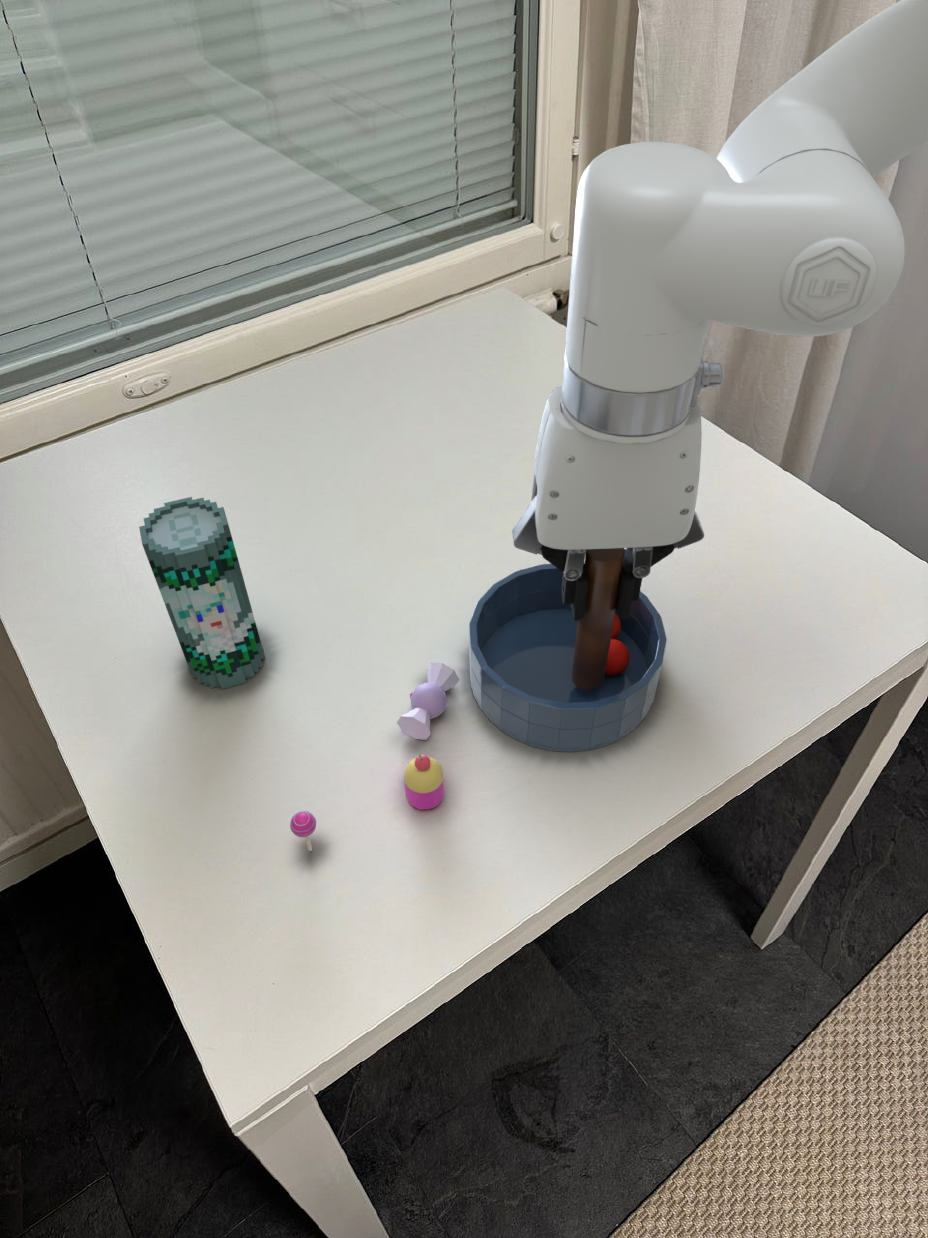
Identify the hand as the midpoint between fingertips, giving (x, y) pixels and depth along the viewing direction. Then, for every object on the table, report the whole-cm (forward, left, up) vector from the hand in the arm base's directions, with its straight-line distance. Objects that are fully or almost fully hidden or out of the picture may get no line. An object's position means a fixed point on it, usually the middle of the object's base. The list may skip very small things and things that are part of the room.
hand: (598, 604), depth 65 cm
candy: (+15, +7, -11) cm, 20 cm away
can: (+30, -5, -11) cm, 32 cm away
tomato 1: (-2, -5, -8) cm, 10 cm away
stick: (0, 0, -9) cm, 9 cm away
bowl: (+2, -2, -10) cm, 11 cm away
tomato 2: (-2, -2, -8) cm, 9 cm away
